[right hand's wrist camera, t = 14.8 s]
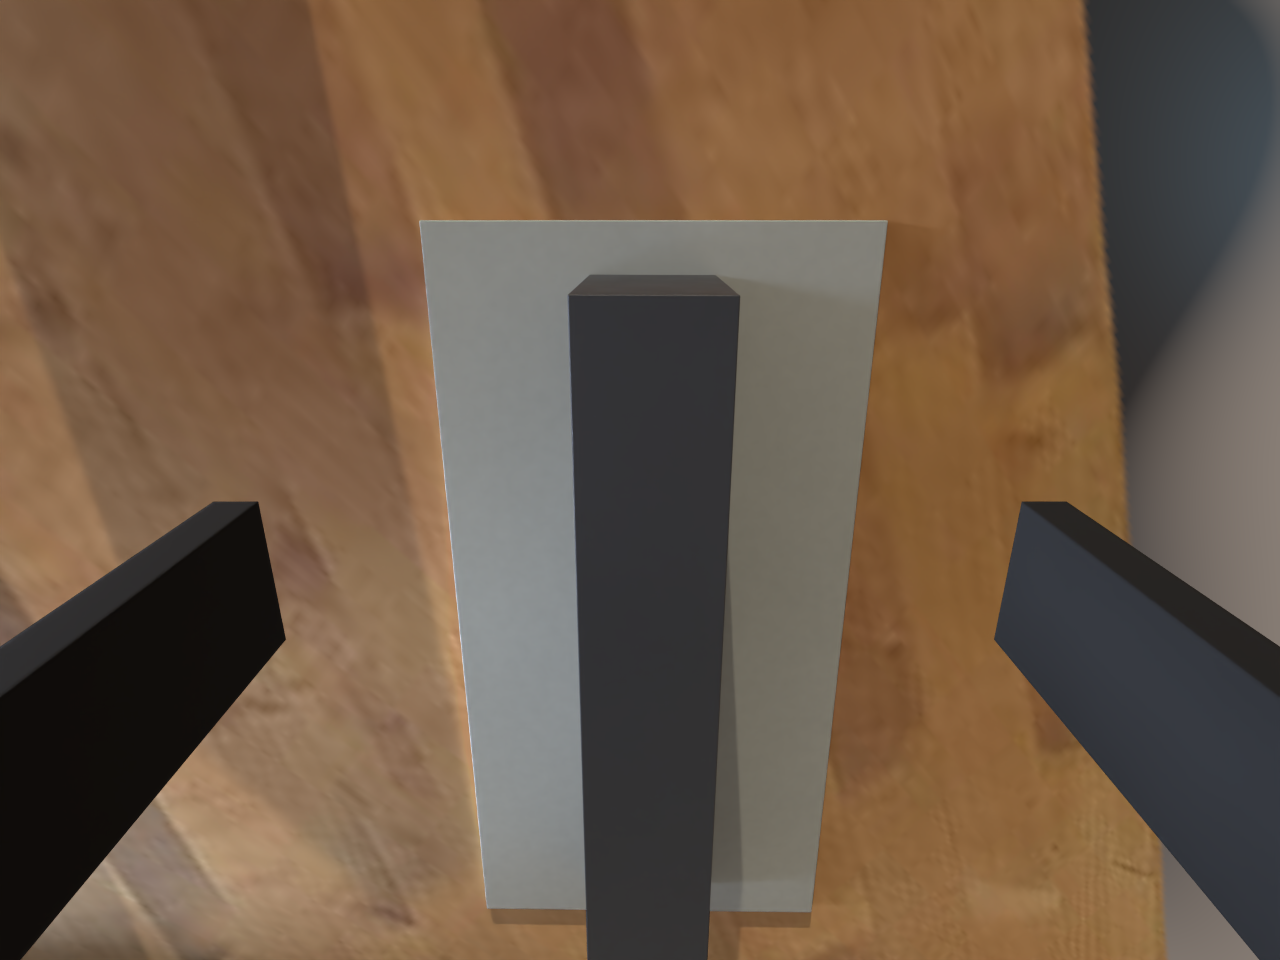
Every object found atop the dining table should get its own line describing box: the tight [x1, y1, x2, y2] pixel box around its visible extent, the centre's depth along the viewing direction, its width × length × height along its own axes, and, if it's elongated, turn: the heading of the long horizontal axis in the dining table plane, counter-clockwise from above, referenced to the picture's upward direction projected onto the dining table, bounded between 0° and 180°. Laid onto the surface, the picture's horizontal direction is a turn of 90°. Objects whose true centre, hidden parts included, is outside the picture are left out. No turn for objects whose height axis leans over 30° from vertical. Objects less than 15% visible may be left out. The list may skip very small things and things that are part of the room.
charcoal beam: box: [567, 275, 740, 960], centre depth 30 cm, size 32×5×8 cm, turn 0°
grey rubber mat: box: [420, 220, 888, 912], centre depth 34 cm, size 18×36×1 cm, turn 0°
